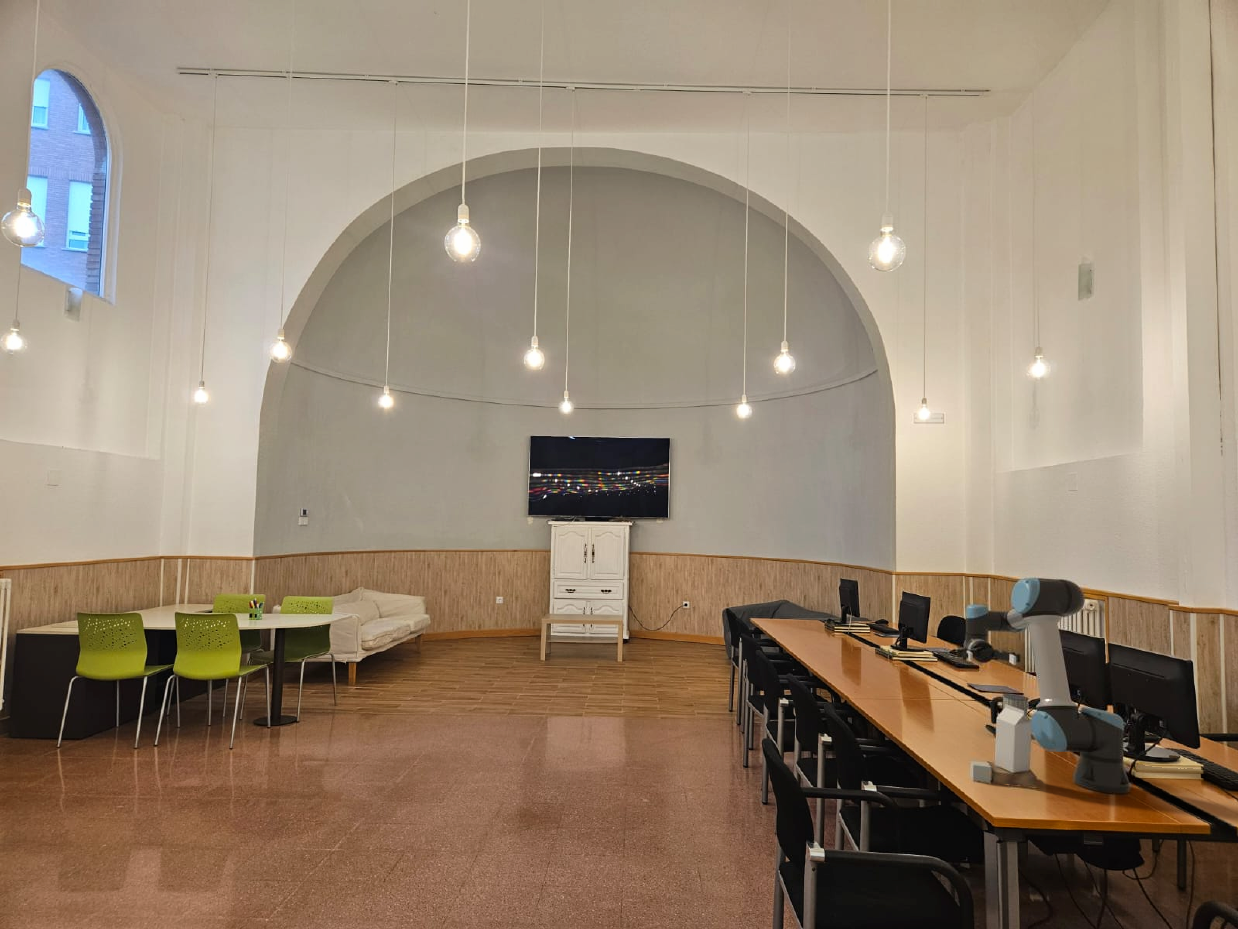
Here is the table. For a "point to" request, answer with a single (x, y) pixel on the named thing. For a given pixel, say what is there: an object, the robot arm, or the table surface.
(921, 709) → the table surface
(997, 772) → the walnut block
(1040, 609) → the robot arm
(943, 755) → the table surface
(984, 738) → the table surface
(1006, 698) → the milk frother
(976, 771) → the grey cube
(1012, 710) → the milk carton
